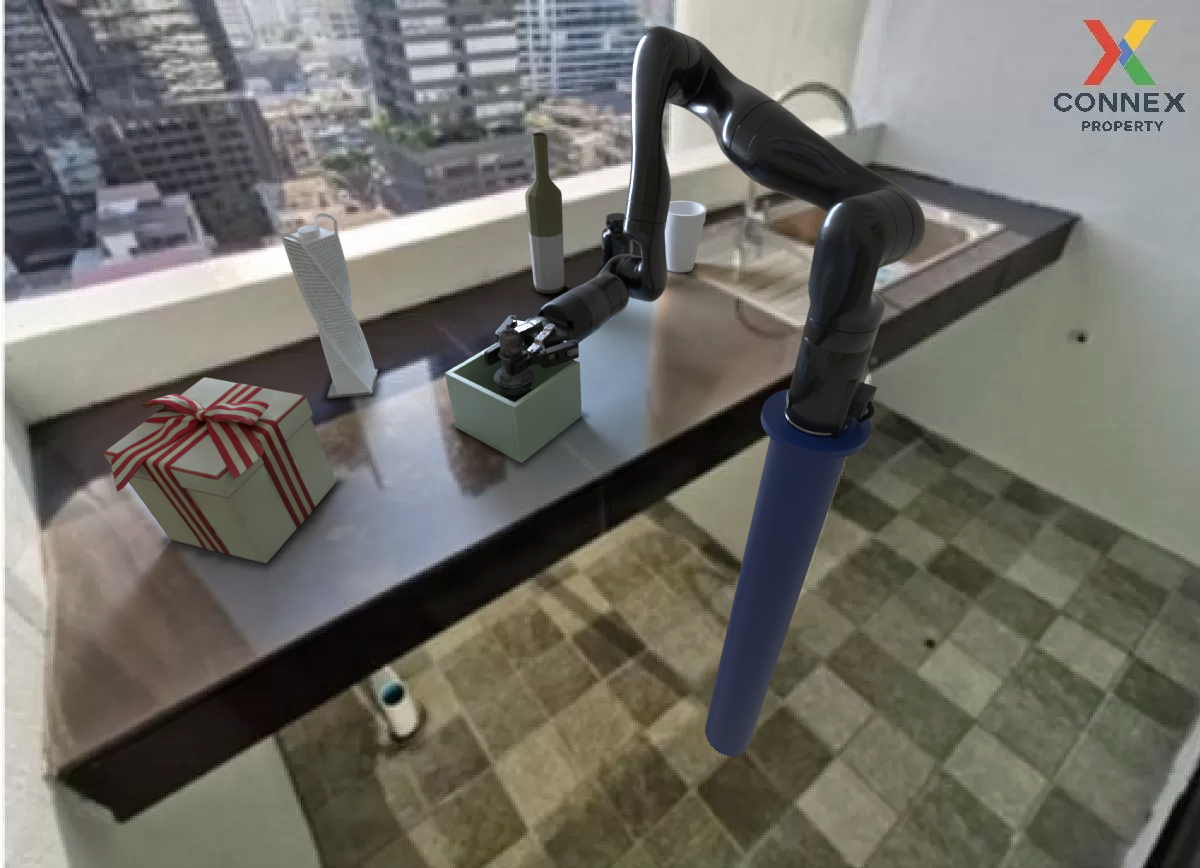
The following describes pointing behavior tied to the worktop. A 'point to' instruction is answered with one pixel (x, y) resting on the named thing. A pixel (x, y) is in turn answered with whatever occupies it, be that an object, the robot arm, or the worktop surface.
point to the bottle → (545, 223)
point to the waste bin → (514, 405)
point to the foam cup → (683, 234)
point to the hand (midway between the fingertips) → (497, 364)
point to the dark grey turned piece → (508, 385)
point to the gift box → (226, 467)
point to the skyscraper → (331, 307)
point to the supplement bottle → (615, 238)
